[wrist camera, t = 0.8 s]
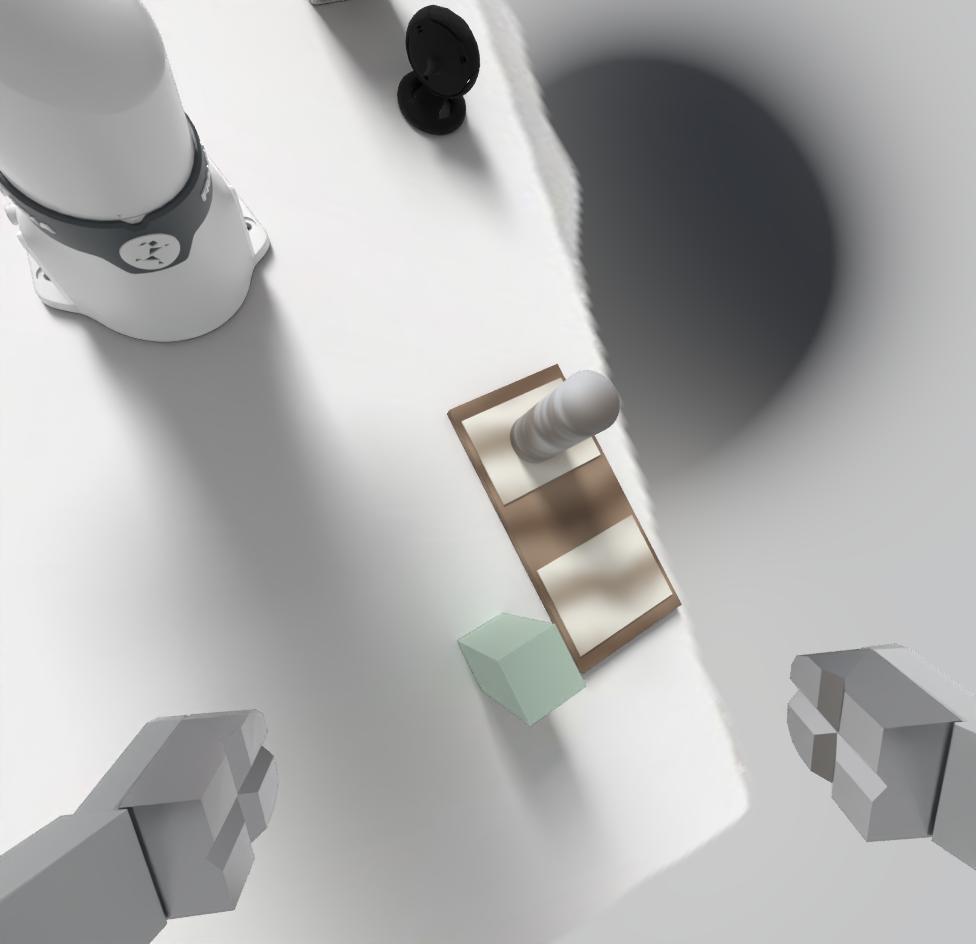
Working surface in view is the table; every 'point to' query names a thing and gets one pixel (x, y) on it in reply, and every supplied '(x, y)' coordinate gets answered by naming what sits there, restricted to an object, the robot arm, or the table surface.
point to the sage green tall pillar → (522, 665)
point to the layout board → (567, 507)
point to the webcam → (438, 69)
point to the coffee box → (322, 1)
